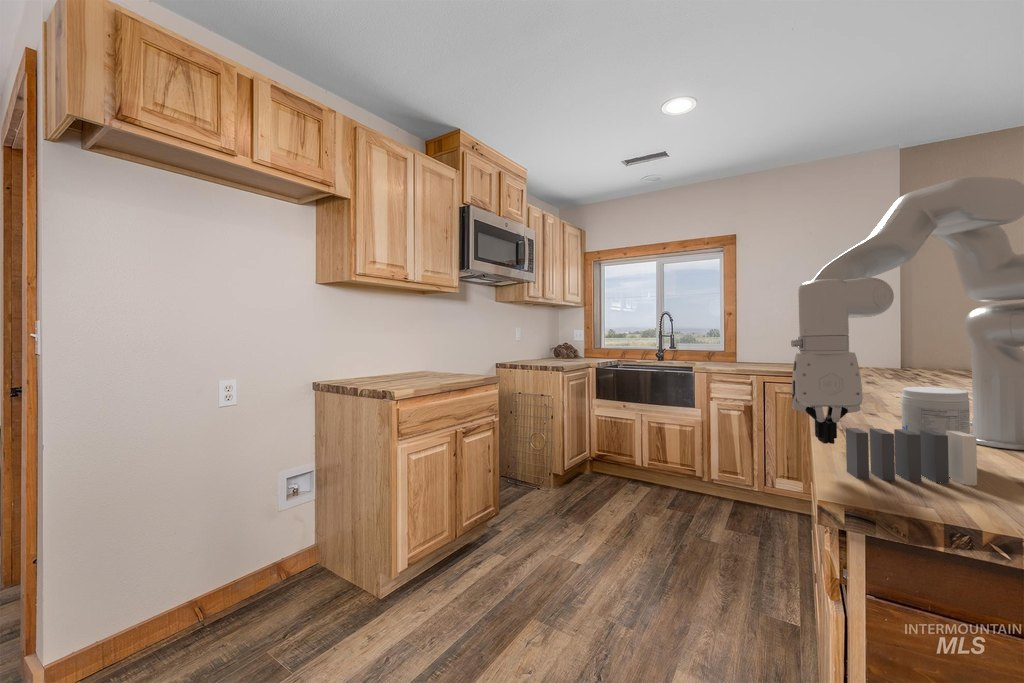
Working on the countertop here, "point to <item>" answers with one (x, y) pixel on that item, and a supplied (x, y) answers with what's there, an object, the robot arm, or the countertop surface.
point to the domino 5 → (962, 457)
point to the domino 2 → (882, 454)
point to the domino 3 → (908, 454)
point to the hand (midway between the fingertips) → (826, 441)
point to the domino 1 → (857, 453)
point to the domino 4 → (934, 456)
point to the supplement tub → (935, 409)
